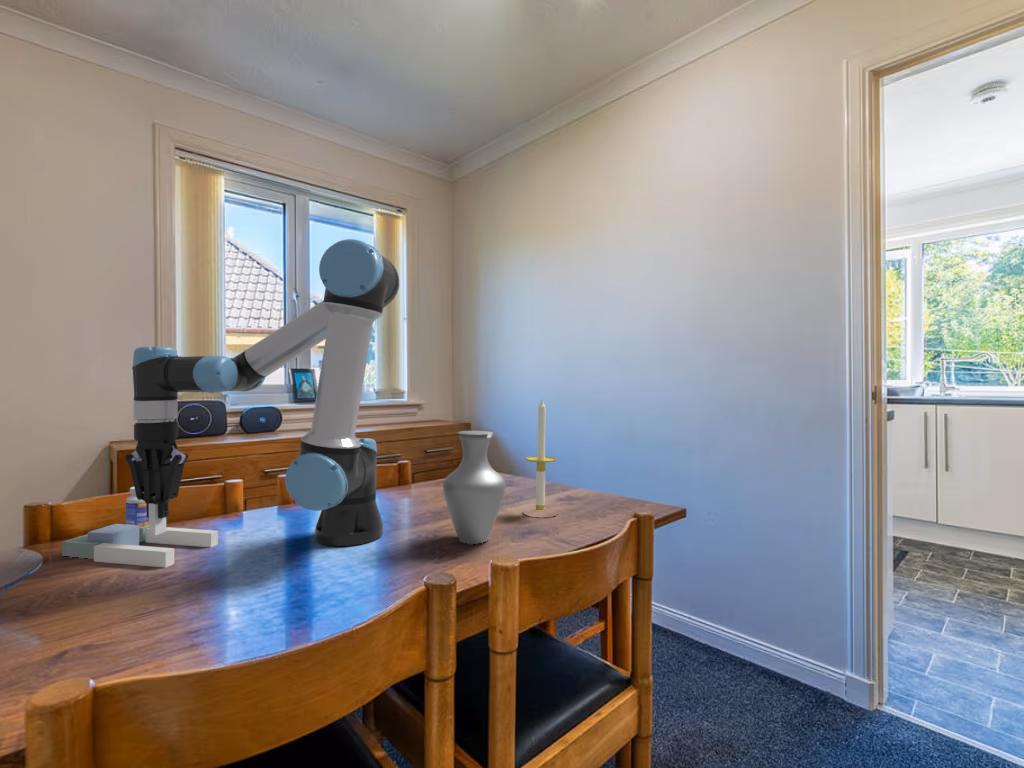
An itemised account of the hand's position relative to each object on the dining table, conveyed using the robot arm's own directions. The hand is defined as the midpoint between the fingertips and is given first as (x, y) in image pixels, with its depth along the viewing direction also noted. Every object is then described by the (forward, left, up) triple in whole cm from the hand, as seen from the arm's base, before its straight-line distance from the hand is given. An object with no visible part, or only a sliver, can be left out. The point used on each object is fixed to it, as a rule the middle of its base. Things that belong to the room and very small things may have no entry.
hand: (157, 533), depth 103 cm
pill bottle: (+18, -13, -4) cm, 23 cm away
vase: (-63, -20, -4) cm, 66 cm away
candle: (-76, -46, -4) cm, 89 cm away
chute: (-1, +1, -4) cm, 4 cm away
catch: (+11, +1, -4) cm, 12 cm away
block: (+10, +1, -4) cm, 10 cm away
